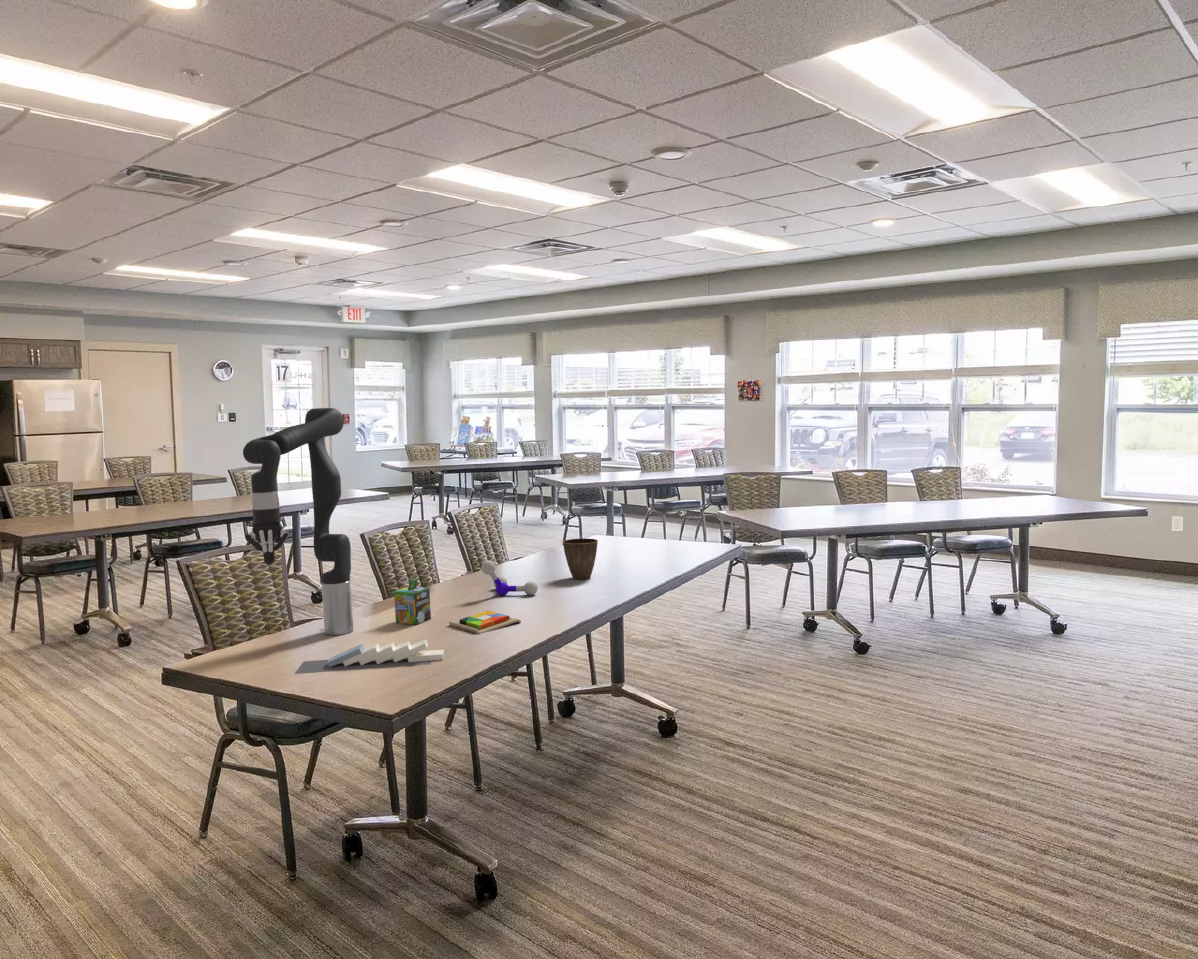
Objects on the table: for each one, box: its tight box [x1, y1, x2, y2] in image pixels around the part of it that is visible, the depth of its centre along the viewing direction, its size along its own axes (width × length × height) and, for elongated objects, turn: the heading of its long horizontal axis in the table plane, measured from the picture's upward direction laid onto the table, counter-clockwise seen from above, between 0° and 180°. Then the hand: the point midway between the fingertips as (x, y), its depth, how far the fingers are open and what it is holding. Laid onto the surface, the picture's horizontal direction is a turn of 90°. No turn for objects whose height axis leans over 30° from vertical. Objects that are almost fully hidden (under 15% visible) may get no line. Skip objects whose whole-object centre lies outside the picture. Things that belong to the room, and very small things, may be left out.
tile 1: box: [327, 643, 365, 668], centre depth 247 cm, size 2×5×10 cm
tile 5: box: [393, 639, 429, 662], centre depth 249 cm, size 2×5×10 cm
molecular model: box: [480, 560, 539, 597], centre depth 335 cm, size 21×21×15 cm
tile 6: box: [408, 649, 445, 662], centre depth 249 cm, size 2×5×10 cm
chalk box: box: [393, 578, 432, 626], centre depth 296 cm, size 9×9×15 cm
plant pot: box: [562, 537, 599, 581], centre depth 360 cm, size 15×15×16 cm
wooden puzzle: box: [448, 610, 522, 635], centre depth 289 cm, size 17×19×4 cm
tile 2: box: [343, 642, 381, 666], centre depth 247 cm, size 2×5×10 cm
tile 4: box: [375, 640, 412, 664], centre depth 248 cm, size 2×5×10 cm
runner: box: [294, 657, 433, 675], centre depth 248 cm, size 38×12×1 cm, turn 97°
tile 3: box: [359, 641, 396, 665], centre depth 248 cm, size 2×5×10 cm
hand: (269, 564), depth 255 cm, fingers closed
